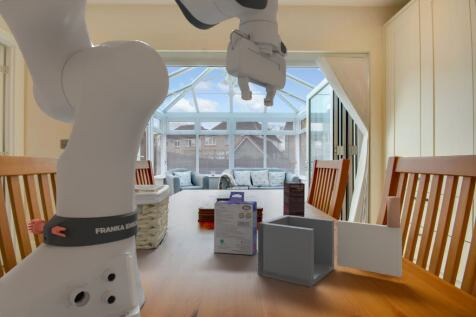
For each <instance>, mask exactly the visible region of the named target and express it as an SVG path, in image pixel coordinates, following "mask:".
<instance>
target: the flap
mask: <svg viewBox="0 0 476 317" xmlns="http://www.w3.org/2000/svg"><path fill="white" fill-rule="evenodd" d="M386 198H387V199H386V201H387V202H386V204H387V206H386V207H387V208H386V211H387V212H386V216H387V217H386V222H387V224H385V225H384V224H376V223H367V222H358V221H349V220H348V221H347V220H336V223H337V225H336V226H337V227H336V228H337V229H336V231H337V232H336V234H337V235H336V237H337V238H336V239H337V240H336V248H337V249H336V252H337V254H336V255H337V256H336V257H337V258H336V265H337V266H338V267H339V266H340V267H346V268H351V269H355V270H360V271H365V272H372V273H377V274H382V275H386V276H387V275H388V276H393V277H398V278H402V277H403V275H402V274H403V262H402V261H403V255H402V254H403V252H402V251H403V245H402V244H403V242H402V241H403V237H402V236H403V227H402V226H401V196H387V197H386Z"/></svg>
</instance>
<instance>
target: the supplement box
mask: <svg viewBox="0 0 476 317" xmlns="http://www.w3.org/2000/svg"><path fill="white" fill-rule="evenodd" d="M305 190H306V186H305V183H304V182H299V181H283V201H282V202H283V205H282V206H283V210H282V211H283V213H282V214H283V215H282V216H284V215H290V216H300V217H305V209H306V208H305V206H306V205H305V204H306V201H305V198H306V197H305V193H306V192H305Z"/></svg>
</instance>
